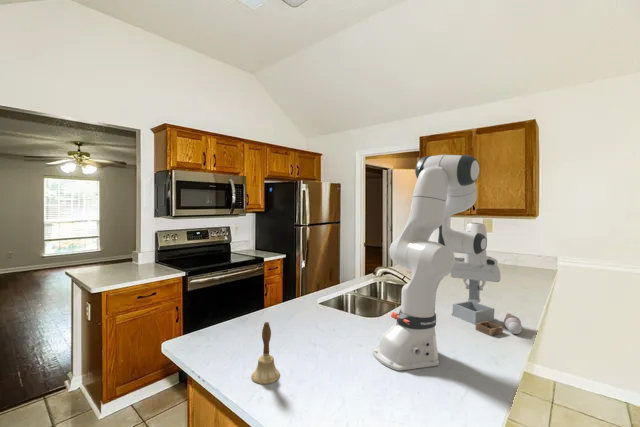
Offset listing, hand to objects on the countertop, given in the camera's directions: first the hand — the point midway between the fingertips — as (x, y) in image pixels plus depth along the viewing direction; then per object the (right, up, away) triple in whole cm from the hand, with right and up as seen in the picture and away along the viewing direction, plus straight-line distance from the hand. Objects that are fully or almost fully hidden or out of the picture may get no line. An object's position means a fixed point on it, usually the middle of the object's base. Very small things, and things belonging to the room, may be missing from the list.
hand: (474, 289), depth 141 cm
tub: (0, -13, 0) cm, 13 cm away
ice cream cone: (+10, -14, -11) cm, 20 cm away
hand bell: (-85, -14, -49) cm, 99 cm away
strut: (0, -6, 0) cm, 6 cm away
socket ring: (-1, -14, -14) cm, 20 cm away
